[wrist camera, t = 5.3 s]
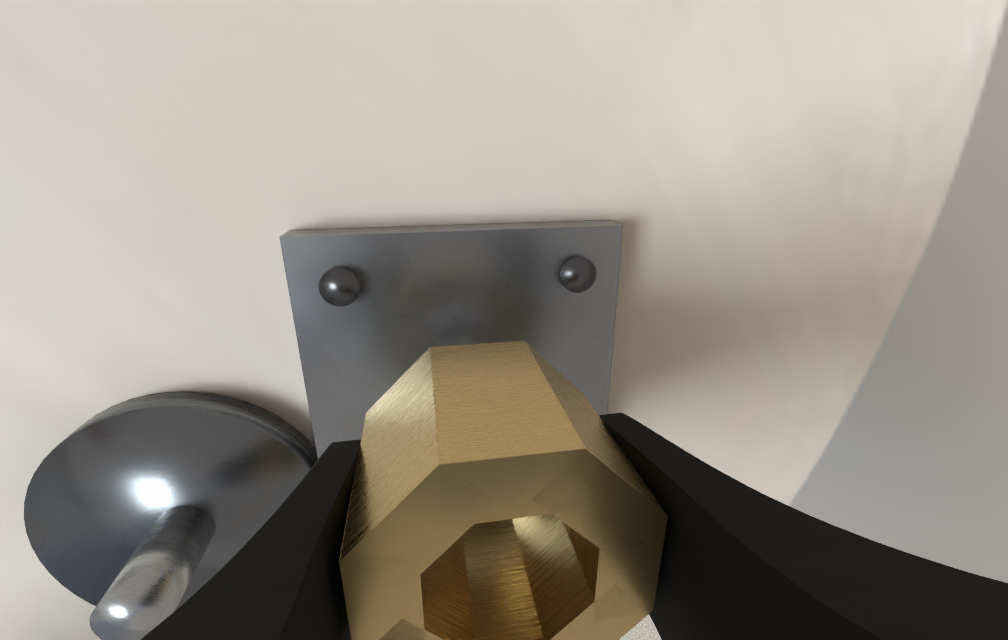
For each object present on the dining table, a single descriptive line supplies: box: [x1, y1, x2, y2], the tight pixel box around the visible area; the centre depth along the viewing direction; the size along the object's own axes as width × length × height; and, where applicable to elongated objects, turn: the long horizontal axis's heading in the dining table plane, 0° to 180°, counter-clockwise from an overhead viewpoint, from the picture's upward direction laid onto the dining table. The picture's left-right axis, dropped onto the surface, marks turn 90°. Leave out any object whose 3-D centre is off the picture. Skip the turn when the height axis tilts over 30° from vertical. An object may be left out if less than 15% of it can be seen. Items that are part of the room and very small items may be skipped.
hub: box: [280, 220, 623, 459], centre depth 13 cm, size 9×9×4 cm
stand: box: [24, 392, 318, 640], centre depth 13 cm, size 8×8×4 cm
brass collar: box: [339, 341, 668, 640], centre depth 9 cm, size 5×5×4 cm
